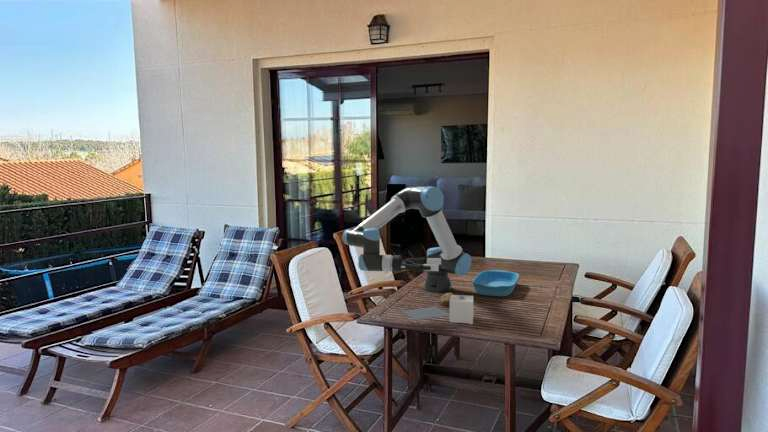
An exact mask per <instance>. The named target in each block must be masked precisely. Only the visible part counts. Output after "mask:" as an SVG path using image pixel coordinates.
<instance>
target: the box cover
mask: <svg viewBox="0 0 768 432" xmlns="http://www.w3.org/2000/svg"><path fill="white" fill-rule="evenodd" d="M449 314H450V315H449V323H458V324H468V325H473V324H474V295H464V294H454V295H451V298H450V307H449Z"/></svg>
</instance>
